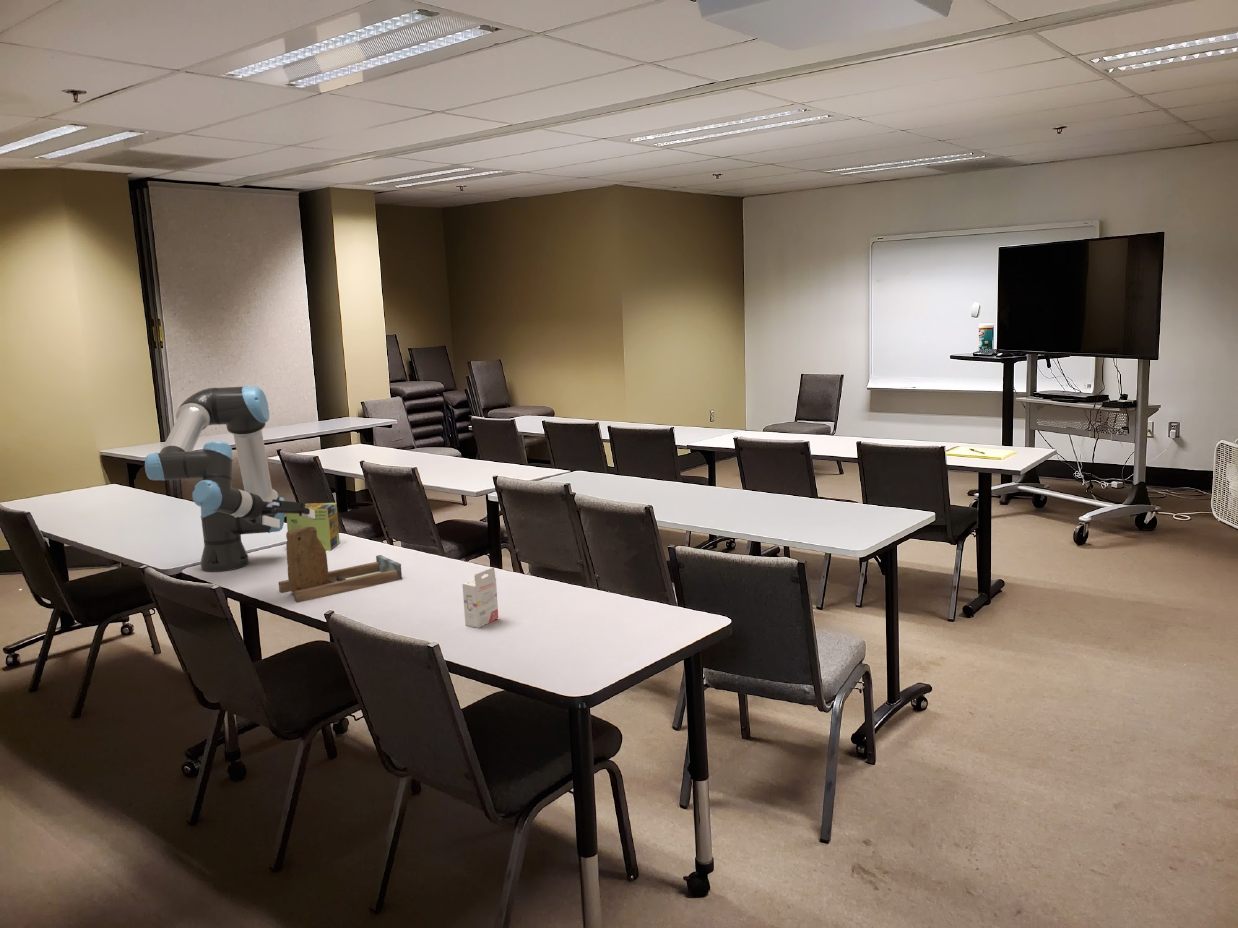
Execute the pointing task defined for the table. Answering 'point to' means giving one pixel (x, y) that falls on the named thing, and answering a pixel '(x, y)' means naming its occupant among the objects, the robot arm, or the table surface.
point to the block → (305, 559)
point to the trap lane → (350, 579)
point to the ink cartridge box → (480, 599)
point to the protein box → (319, 523)
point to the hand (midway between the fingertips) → (296, 519)
